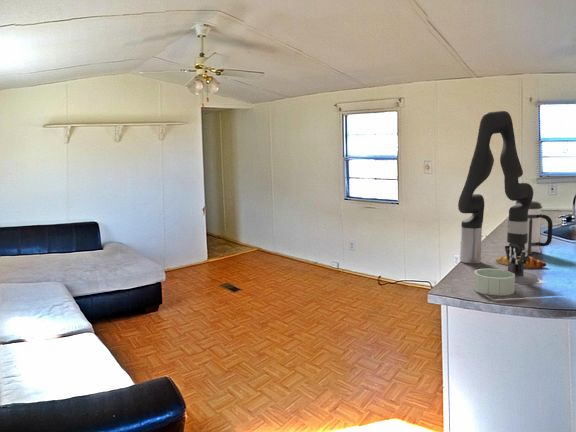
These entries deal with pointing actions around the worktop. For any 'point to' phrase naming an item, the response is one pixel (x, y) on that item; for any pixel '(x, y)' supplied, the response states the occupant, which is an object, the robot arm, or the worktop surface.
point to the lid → (522, 275)
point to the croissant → (530, 261)
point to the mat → (535, 282)
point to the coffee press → (536, 228)
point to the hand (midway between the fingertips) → (515, 271)
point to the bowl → (494, 282)
